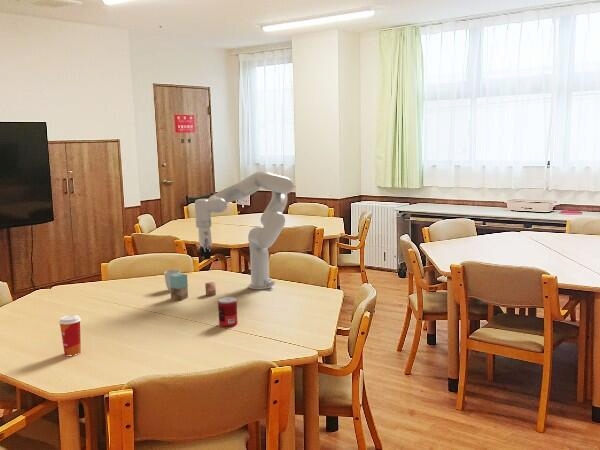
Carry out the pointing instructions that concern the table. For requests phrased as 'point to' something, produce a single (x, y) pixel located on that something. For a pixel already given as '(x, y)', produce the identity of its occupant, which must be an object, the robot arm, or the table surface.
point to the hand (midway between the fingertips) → (205, 257)
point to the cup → (167, 277)
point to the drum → (210, 289)
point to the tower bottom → (179, 293)
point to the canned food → (227, 311)
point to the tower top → (178, 281)
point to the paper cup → (71, 334)
